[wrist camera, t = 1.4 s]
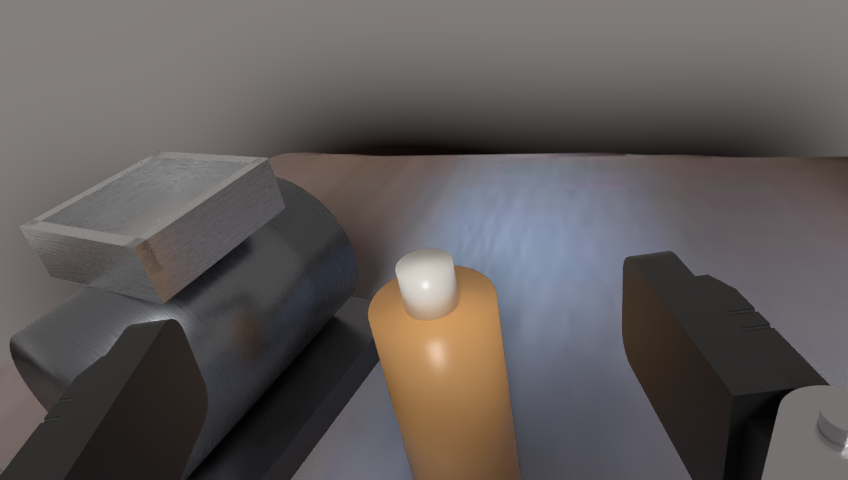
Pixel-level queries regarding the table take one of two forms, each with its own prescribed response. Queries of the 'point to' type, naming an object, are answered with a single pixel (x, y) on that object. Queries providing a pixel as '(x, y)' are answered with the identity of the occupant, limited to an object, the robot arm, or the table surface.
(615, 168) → the table surface
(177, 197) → the motor
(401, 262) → the orange capped bottle
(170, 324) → the robot arm
